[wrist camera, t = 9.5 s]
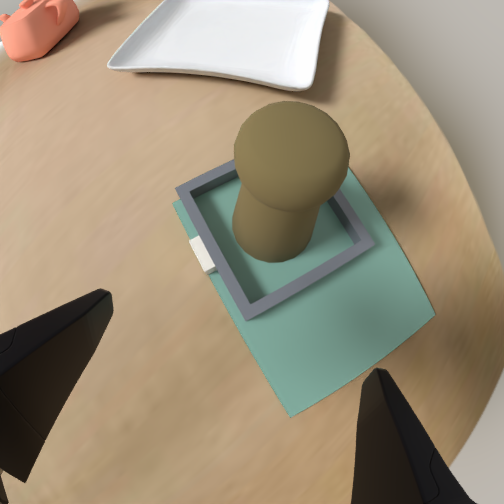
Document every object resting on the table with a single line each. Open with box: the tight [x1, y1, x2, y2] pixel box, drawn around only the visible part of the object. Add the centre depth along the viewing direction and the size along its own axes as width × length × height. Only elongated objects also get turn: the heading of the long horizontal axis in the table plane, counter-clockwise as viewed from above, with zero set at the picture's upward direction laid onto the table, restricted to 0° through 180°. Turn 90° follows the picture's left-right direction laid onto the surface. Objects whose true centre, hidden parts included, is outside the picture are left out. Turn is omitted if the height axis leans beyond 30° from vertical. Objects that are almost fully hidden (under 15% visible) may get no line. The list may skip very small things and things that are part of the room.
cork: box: [232, 101, 350, 263], centre depth 16 cm, size 6×6×11 cm
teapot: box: [0, 0, 79, 62], centre depth 24 cm, size 12×18×10 cm, turn 74°
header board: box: [172, 160, 435, 418], centre depth 21 cm, size 18×14×2 cm
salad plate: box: [107, 0, 329, 91], centre depth 26 cm, size 21×21×3 cm
